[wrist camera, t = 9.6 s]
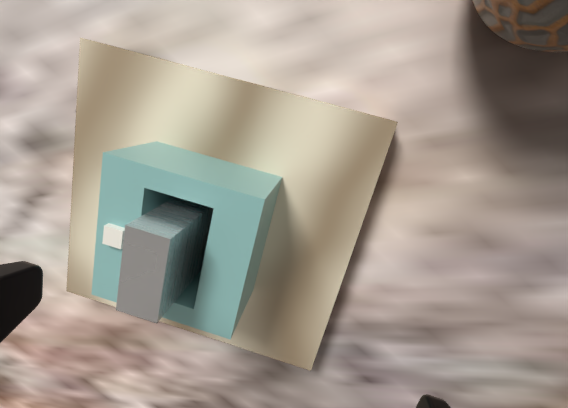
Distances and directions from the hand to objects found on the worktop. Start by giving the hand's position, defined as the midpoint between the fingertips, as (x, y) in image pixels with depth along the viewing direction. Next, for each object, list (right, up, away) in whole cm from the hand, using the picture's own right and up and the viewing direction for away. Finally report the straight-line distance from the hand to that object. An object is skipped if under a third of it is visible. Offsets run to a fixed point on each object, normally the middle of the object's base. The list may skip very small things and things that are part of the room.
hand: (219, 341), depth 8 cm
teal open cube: (-2, +2, +10) cm, 10 cm away
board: (-2, +3, +11) cm, 12 cm away
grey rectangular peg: (-3, +2, +10) cm, 10 cm away
